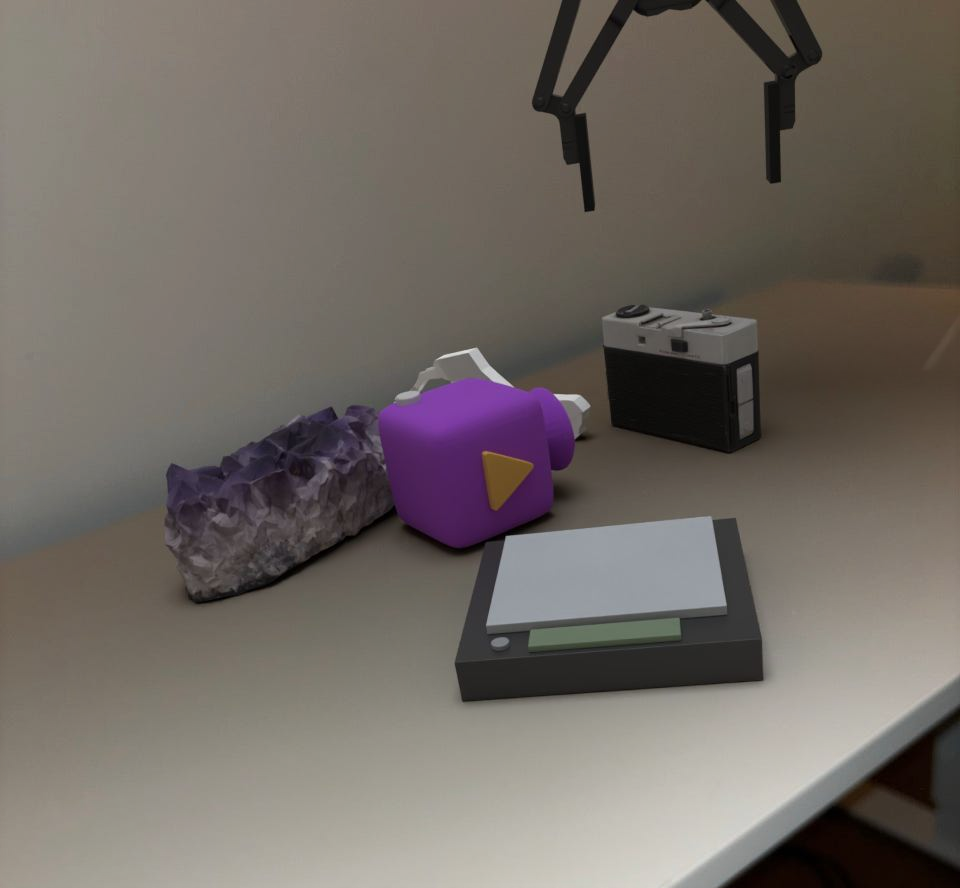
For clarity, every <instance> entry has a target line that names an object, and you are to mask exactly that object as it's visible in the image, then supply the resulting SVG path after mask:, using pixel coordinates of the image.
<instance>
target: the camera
mask: <svg viewBox="0 0 960 888" xmlns="http://www.w3.org/2000/svg"><path fill="white" fill-rule="evenodd" d="M601 327H602V336H603V345H602V348H603V356H604V365H605V382H606V391H607V393H606V394H607V400H608V404H609V405H608V406H609V413H610V414H609V415H610V423H611V425H612V426H615V427H619V428H622V429H627V430H632V431H635V432H639V433H643V434H647V435H652V436H658V437H662V438H666V439H670V440H674V441H678V442H683V443H687V444H691V445H696V446H699V447H703V448H708V449H713V450H717V451H721V452H725V453H729V454H730V453H734V452H736V451H737V450H739V449H741V448H743V447H745V446H747V445H749V444H751V443H753V442H756V441H757V440H759V439H761V438H762V428H761V427H762V425H761V397H760V395H761V393H760V360H759V359H760V353H759V352H760V350H759V338H758V320H757V319H756V318H748V317H738V316H730V315H721V314H713V312H712V309H708V308H707V309H703V310H702V311H701V312H694V311H685V310H677V309H668V308H661V307H660V308H659V307H650V306H649V305H646V304H640V305H636V304H630V305H626V306H622V307H620V308H618V309H617V310H616V311H615V312H613V313H612V312H611V313H610V314H607V315H604V316H603V317H601Z"/></svg>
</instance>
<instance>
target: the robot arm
mask: <svg viewBox="0 0 960 888" xmlns="http://www.w3.org/2000/svg"><path fill="white" fill-rule="evenodd" d="M704 1H705V2H706V3H707V4H708V5H709V6H710V7H711V8H712V9H713V10H714V11H715V12H716V13H717V14H718V15H719V16H720V18H722V20H724V22H725V23H726V24H727V25H728V26H729V27H730V28H731V29H732V30H733V31H734V32H735V34H736V35H737V36H738V37H739V38H740V39H741V40H742V41H743V42H744V43H745V44H746V46H747V47H748V48H749V49H750V50H751V51H752V52H753V53H754V54H755V55H756V57H757V58H759V60H761V62H762V63H763V64H764V65H765V66H766V67H767V69H769V71H770V72H771V73H772V74H773V75H774V80H770V81H764V82H763V107H764V108H763V109H764V144H765V146H764V147H765V149H764V150H765V180H767V182H768V183H769V184H770V185H773V184H779V183H782V165H781V164H782V163H781V162H782V161H781V159H782V158H781V157H782V155H781V131H786V130H792V129H794V126H795V123H796V81H797V78H798V76H799V75H800V74H801V73H802V72H804V71H806V70H807V69H809V68H811V67H812V66H816V65H818V64H819V63H820V62H821V60H822V58H823V49H822V47H821V46H820V44H819V42H818V39H817V37H816V36H815V34H814V32H813V30H812V28H811V25H810V24H809V22H808V20H807V18H806V15H805V14H804V12H803V10H802V8H801V6H800V4H799V2H798V0H769V1H770V3H771V5H772V7H773V8H774V11H775V13H776V15H777V17H778V19H779V21H780V23H781V25H782V27H783V28H784V30H785V33H786V35H787V36H788V38H789V40H790V42H791V44H792V46H793V48H794V50H795V52H793V53H792V54H789V55H787V54H786V52H784V51H783V50H782V49H781V48H780V47H779V45H778V44H777V43H776V42H775V41H774V40H773V38H771V37H770V36H769V35H768V33H767V32H766V31H765V30H764V29H763V28H762V27H761V26H760V25H759V24H758V23H757V22H756V20H755V19H754V18H753V17H752V16H751V15H750V14H749V12H747V10H746V9H744V7H743V6H742V5H741V4H740V3H739V2H738V1H737V0H704ZM701 2H702V0H617V1H616V3H615V5H614V7H613V8H612V10H611V12H610V14H609V15H608V17H607V19H606V21H605V23H604V24H603V26H602V28H601V29H600V31H599V33H598V34H597V36H596V38H595V40H594V42H593V44H592V45H591V46H590V48H589V50H588V52H587V53H586V55H585V57H584V59H583V60H582V63H581V64H580V66H579V67H578V69H577V71H576V72H575V75H574V76H573V78H572V79H571V82H570V83H569V85H568V87H567V88H566V90H565V92H564V94H563V95H561V94H560V95H559V94H556V93H554V91H555V89H556V85H557V82H558V78H559V75H560V72H561V68H562V65H563V62H564V59H565V55H566V52H567V50H568V46H569V43H570V39H571V36H572V32H573V30H574V26H575V23H576V19H577V16H578V14H579V10H580V6H581V3H582V0H561V2H560V6H559V10H558V13H557V15H556V19H555V21H554V22H555V23H554V26H553V28H552V29H553V30H552V33H551V36H550V40H549V43H548V46H547V50H546V52H545V55H544V59H543V63H542V66H541V70H540V73H539V75H538V79H537V83H536V86H535V89H534V93H533V96H532V99H531V106H532V109H533V110H534V111H535V112H537V113H545V114H549V115H553V116H554V117H556V119H557V120H558V124H559V131H560V140H561V148H562V149H561V150H562V157H563V158H562V159H563V160H564V162H565V164H566V166H571V165H576V164H579V165H578V166H579V172H580V174H579V175H580V182H581V191H582V201H583V212H584V213H588V212H589V213H590V212H595V210H596V197H595V188H594V179H593V168H592V167H593V166H592V158H591V149H590V139H589V128H588V120H587V112H582V113H577V110H576V109H577V107H578V105H579V103H580V102H581V100H582V99H583V97H584V95H585V93H586V92H587V90H588V89H589V87H590V85H591V83H592V81H593V80H594V78H595V76H596V74H597V73H598V71H599V69H600V67H601V66H602V64H603V62H604V61H605V59H606V57H607V56H608V54H609V53H610V51H611V49H612V47H613V45H614V44H615V42H616V40H617V39H618V37H619V35H620V33H621V32H622V30H623V28H624V27H625V25H626V23H627V21H628V20H629V18H630V16H631V14H632V13H633V11H634V12H635V13H636V14H638V15H639V16H642V17H645V18H648V17H653V16H659V15H661V14H662V13H665V12H666V11H669V10H671V11H687V10H691V9H693V8H694V7H696V6H697V5H699V4H700V3H701Z"/></svg>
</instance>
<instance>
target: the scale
mask: <svg viewBox="0 0 960 888" xmlns="http://www.w3.org/2000/svg"><path fill="white" fill-rule="evenodd" d="M737 521H738V520H737V518H736V517H728V518H719V519H718V518H717V519H713V516H712V515H709V516H698V517H689V518H688V517H685V518H676V519H666V520H665V519H664V520H655V521H646V522H645V521H644V522H635V523H627V524H626V523H625V524H615V525H607V526H604V525H603V526H595V527H586V528H584V527H583V528H575V529H564V530H554V531H544V532H535V533H534V532H533V533H524V534H513V535H506V536H505V539H502V540H494V541H493V540H492V541H486V542H485V544H484V548H483V551H482V554H481V555H482V556H481V559H480V563H479V567H478V571H477V575H476V579H475V582H474V586H473V590H472V594H471V598H470V601H469V604H468V605H469V606H468V609H467V612H466V616H465V619H464V625H463V628H462V632H461V636H460V640H459V643H458V648H457V650H456V651H457V652H456V655H455V658H454V659H455V660H454V667H455V672H456V678H457V683H458V688H459V692H460V697H461V701H462V702H466V701H467V702H468V701H481V700H494V699H495V700H496V699H507V698H522V697H523V698H524V697H537V696H551V695H552V696H553V695H566V694H579V693H580V694H582V693H593V692H594V693H595V692H596V693H597V692H607V691H621V690H623V691H624V690H636V689H647V688H648V689H652V688H653V689H654V688H663V687H664V688H665V687H679V686H681V687H682V686H693V685H708V684H709V685H710V684H721V683H723V684H724V683H737V682H750V681H762V680H764V657H763V655H764V654H763V637H762V632H761V627H760V624H759V623H760V622H759V618H758V614H757V609H756V604H755V600H754V596H753V591H752V587H751V582H750V577H749V573H748V568H747V563H746V559H745V554H744V549H743V544H742V541H741V540H742V539H741V535H740V530H739V526H738V522H737Z"/></svg>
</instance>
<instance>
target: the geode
mask: <svg viewBox="0 0 960 888" xmlns="http://www.w3.org/2000/svg"><path fill="white" fill-rule="evenodd" d="M379 414H380V412H379V411H378V410H377V409H376V408H375V407H372V406H369V405H361V404H351V405H349V406H347V407H346V410H345V414H344V416H340V417H338V415H337V413H336V412H335V409H334V407H333V406H328V407H326V408H323V409H321V410H319V411H317V412H315V413H311V414H310V415H308V416H306V415H303V414H300V413H299V414H297V415H296V416H295V417H294V418H292V419H290V420H289V421H288V423H287V424H286V425H285V424H281V425H280V426H278V427H276V428H275V429H273V430H271V433H270V434H269V435H267V436H265V437H264V438H262V439H260V441H259V440H258V441H257V442H256V441H250V442H248V443H247V444H246V445H244V446H242V447H240V448H238V449H237V450H236V451H234V452H232V453H230V455H224V456H222V459H221V461H220V464H219V466H217V465H203V466H195V467H192V468H190V469H189V470H188V469H186V468H184V467H182V466H180V465H178V464H176V463H173V462H171V463H170V465H169V466H168V468H167V471H166V473H165V478H166V485H167V498H166V502H165V506H166V510H167V513H166V515H165V516H164V531H165V534H164V535H165V536H164V537H165V538H164V546H166V547H167V548H168V550H169V551H170V552H171V554H173V556H174V557H175V569H176V570H177V572H179V573H180V575H181V578H182V579H183V581H184V583H185V585H186V593H187V599H192V600H193V601H194V602H195V603H198V602H200V603H201V602H208V601H211V600H215V599H220V598H224V597H230V596H239V595H242V594H244V593H246V592H247V591H250V590H254V589H257V588H260V587H264V586H267V584H271V583H273V582H274V581H276V580H277V579H279V577H281V576H283V575H284V574H286V573H287V572H289V571H290V570H292V569H294V568H296V567H297V566H299V565H300V564H302V563H304V562H306V561H307V560H309V559H311V557H314V556H315V555H317V554H320V553H322V552H323V551H325V550H327V549H328V548H330V547H332V546H334V545H337V544H339V543H341V542H342V541H343V540H344V539H345V538H346V537H347V536H348V537H349V536H356V535H357V534H359V532H360V531H361V529H362V528H365V527H367V526H370V525H372V523H373V522H374V521H375V520H377V519H379V518H380V517H382V516H384V515H385V514H387V513H388V512H389V511H391V510H392V508H393V507H395V504H394V500H393V496H392V491H391V487H390V482H389V477H388V473H387V468H386V463H385V459H384V454H383V449H382V445H381V440H380V434H379V428H378V417H379Z"/></svg>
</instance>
